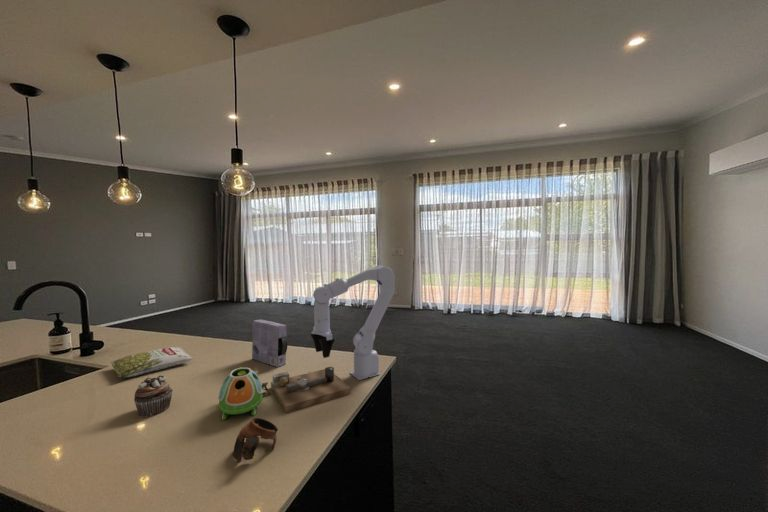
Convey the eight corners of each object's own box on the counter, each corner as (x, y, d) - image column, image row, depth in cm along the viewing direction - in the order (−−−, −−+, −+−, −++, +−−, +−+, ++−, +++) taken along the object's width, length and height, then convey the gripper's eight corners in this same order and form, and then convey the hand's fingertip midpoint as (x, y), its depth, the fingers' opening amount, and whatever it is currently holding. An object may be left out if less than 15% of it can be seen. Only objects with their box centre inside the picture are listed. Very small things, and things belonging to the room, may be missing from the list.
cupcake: (130, 421, 88) (129, 388, 87) (139, 406, 96) (138, 375, 96) (170, 413, 92) (169, 381, 92) (175, 399, 101) (174, 369, 100)
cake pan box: (288, 364, 130) (288, 323, 129) (279, 368, 126) (278, 326, 125) (261, 356, 140) (260, 318, 140) (251, 359, 136) (250, 320, 135)
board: (328, 373, 120) (328, 360, 120) (350, 393, 103) (350, 378, 103) (271, 387, 108) (270, 373, 108) (285, 412, 91) (285, 396, 91)
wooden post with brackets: (273, 392, 103) (267, 381, 102) (250, 408, 99) (244, 397, 98) (271, 390, 105) (266, 379, 103) (249, 405, 101) (243, 395, 99)
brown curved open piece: (234, 444, 78) (251, 412, 80) (268, 458, 79) (284, 425, 81) (220, 465, 66) (240, 426, 69) (260, 480, 67) (278, 441, 70)
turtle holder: (262, 388, 106) (261, 355, 106) (263, 416, 90) (262, 377, 89) (222, 396, 102) (221, 361, 101) (216, 426, 85) (214, 385, 84)
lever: (331, 377, 111) (331, 366, 111) (335, 380, 108) (335, 369, 108) (286, 389, 102) (285, 376, 102) (289, 393, 99) (288, 380, 99)
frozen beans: (110, 355, 126) (179, 340, 145) (110, 368, 126) (179, 352, 145) (118, 370, 112) (194, 352, 131) (118, 385, 113) (194, 365, 132)
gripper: (305, 316, 117) (306, 350, 118) (318, 324, 105) (319, 362, 106) (322, 314, 121) (323, 347, 122) (337, 321, 109) (337, 358, 109)
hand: (322, 354), depth 114 cm, fingers open, 7 cm apart
